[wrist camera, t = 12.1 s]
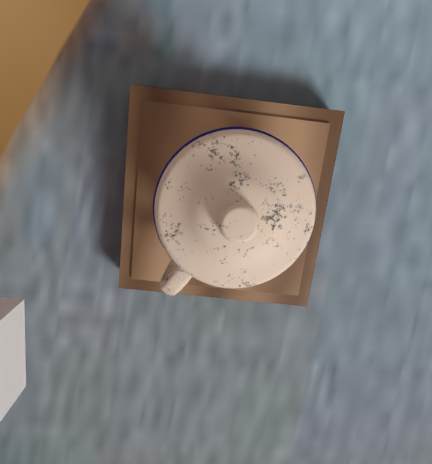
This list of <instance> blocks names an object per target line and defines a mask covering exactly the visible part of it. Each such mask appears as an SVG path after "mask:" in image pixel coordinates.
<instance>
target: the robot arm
mask: <svg viewBox="0 0 432 464" xmlns="http://www.w3.org/2000/svg"><path fill="white" fill-rule="evenodd" d="M25 387H26V361H25V312H24V299H14V298H3V297H0V421H1V420H2V419H3V417H4V416H5V414H6V413H7V412H8V410H9V409H10V408H11V406H12V405H13V403H14V402H15V401H16V399H17V398H18V396H19V395H20V394H21V392H22V391H23V390H24V388H25Z"/></svg>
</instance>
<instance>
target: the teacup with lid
mask: <svg viewBox="0 0 432 464" xmlns="http://www.w3.org/2000/svg"><path fill="white" fill-rule="evenodd" d="M315 217H316V195H315V189H314V185H313V182H312V179H311V176H310V174H309V172H308V170H307V168H306V166H305V165H304V163H303V161H302V160H301V159H300V157H299V156H298V155H297V154H296V153H295V152H294V151H293V150H292V149H291V148H290V147H289V146H288V145H287V144H286V143H284V142H283V141H281V140H280V139H278V138H276V137H275V136H273V135H271V134H268V133H266V132H263V131H260V130H257V129H253V128H247V127H225V128H219V129H215V130H211V131H208V132H206V133H203V134H201V135H199V136H197V137H195V138H193V139H191V140H190V141H189V142H187V143H186V144H184V145H183V146H182V147H181V148H180V149H179V150H178V151H177V152H176V153H175V154H174V155H173V156H172V157H171V158H170V160H169V161H168V162H167V164H166V165H165V167H164V169H163V171H162V173H161V175H160V177H159V179H158V182H157V185H156V189H155V193H154V199H153V218H154V224H155V229H156V232H157V235H158V238H159V240H160V242H161V244H162V246H163V248H164V250H165V251H166V253H167V254H168V256H169V257H170V258H171V259H172V260H171V261H170V263H169V265H168V266H167V268H166V270H165V272H164V274H163V276H162V278H161V281H160V289H161V290H162V291H163V292H165V293H166V294H168V295H175V294H177V293H178V292H179V291H180V290H182V288H183V287H184V286H185V285H186V284H187V283H188V281H189V280H190V279H191V278H192V277H193V278H195V279H197V280H199V281H201V282H204V283H206V284H209V285H213V286H217V287H222V288H245V287H251V286H255V285H258V284H261V283H264V282H267V281H269V280H271V279H273V278H275V277H276V276H278V275H279V274H281V273H282V272H284V271H285V270H286V269H287V268H289V267H290V266H291V265H292V264H293V263H294V262H295V261H296V259H297V258H298V257H299V256H300V254H301V253H302V252H303V250H304V248H305V247H306V245H307V243H308V241H309V239H310V236H311V233H312V230H313V227H314V223H315Z"/></svg>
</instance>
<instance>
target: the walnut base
mask: <svg viewBox="0 0 432 464" xmlns="http://www.w3.org/2000/svg"><path fill="white" fill-rule="evenodd" d="M344 113H345V111H338V110H330V109H322V108H314V107H306V106H298V105H290V104H282V103H274V102H267V101H259V100H251V99H243V98H235V97H227V96H219V95H211V94H203V93H195V92H187V91H179V90H172V89H164V88H156V87H148V86H140V85H132V84H130V96H129V114H128V132H127V150H126V168H125V186H124V204H123V221H122V239H121V257H120V275H119V288H127V289H137V290H147V291H157V292H163V291H162V290H161V289H160V281H161V278H162V276H163V274H164V272H165V270H166V268H167V266H168V265H169V263H170V261H171V260H172V259H171V258H170V257H169V256H168V254H167V253H166V251H165V250H164V248H163V246H162V244H161V242H160V240H159V238H158V235H157V232H156V229H155V224H154V218H153V199H154V193H155V189H156V185H157V182H158V179H159V177H160V175H161V173H162V171H163V169H164V167H165V165H166V164H167V162H168V161H169V160H170V158H171V157H172V156H173V155H174V154H175V153H176V152H177V151H178V150H179V149H180V148H181V147H182V146H183V145H184V144H186V143H187V142H189V141H190V140H191V139H193V138H195V137H197V136H199V135H201V134H203V133H206V132H208V131H211V130H215V129H219V128H225V127H247V128H253V129H257V130H260V131H263V132H266V133H268V134H271V135H273V136H275V137H276V138H278V139H280V140H281V141H283V142H284V143H286V144H287V145H288V146H289V147H290V148H291V149H292V150H293V151H294V152H295V153H296V154H297V155H298V156H299V157H300V159H301V160H302V161H303V163H304V165H305V166H306V168H307V170H308V172H309V174H310V176H311V179H312V182H313V185H314V189H315V195H316V217H315V223H314V227H313V230H312V233H311V236H310V239H309V241H308V243H307V245H306V247H305V248H304V250H303V252H302V253H301V254H300V256H299V257H298V258H297V259H296V261H295V262H294V263H293V264H292V265H291V266H290V267H289V268H287V269H286V270H285V271H284V272H282V273H281V274H279V275H278V276H276V277H275V278H273V279H271V280H269V281H267V282H264V283H261V284H258V285H255V286H251V287H245V288H222V287H217V286H213V285H209V284H206V283H204V282H201V281H199V280H197V279H195V278H193V277H192V278H191V279H190V280H189V281H188V283H187V284H186V285H185V286H184V287H183V288H182V290H180V291H179V292H178V293H177V294H187V295H197V296H207V297H217V298H227V299H237V300H247V301H257V302H267V303H277V304H287V305H298V306H307V304H308V299H309V294H310V289H311V284H312V278H313V273H314V268H315V263H316V258H317V253H318V247H319V242H320V237H321V232H322V227H323V222H324V216H325V211H326V206H327V201H328V196H329V191H330V185H331V180H332V175H333V170H334V165H335V160H336V154H337V149H338V144H339V139H340V134H341V129H342V123H343V118H344Z"/></svg>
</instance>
